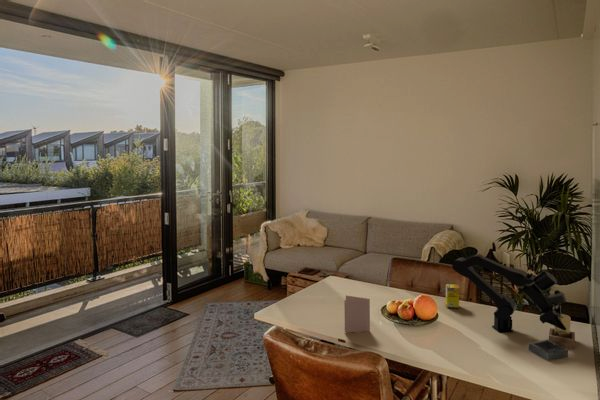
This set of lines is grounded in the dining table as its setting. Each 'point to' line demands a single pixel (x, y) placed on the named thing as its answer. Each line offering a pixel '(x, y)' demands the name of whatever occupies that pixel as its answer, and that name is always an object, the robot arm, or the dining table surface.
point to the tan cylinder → (566, 321)
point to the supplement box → (452, 296)
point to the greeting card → (357, 314)
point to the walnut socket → (563, 339)
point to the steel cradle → (548, 350)
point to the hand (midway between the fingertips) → (566, 327)
